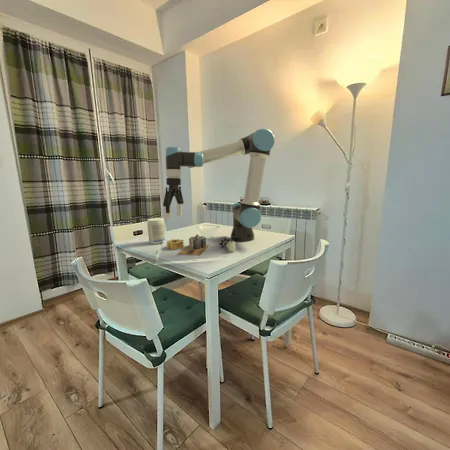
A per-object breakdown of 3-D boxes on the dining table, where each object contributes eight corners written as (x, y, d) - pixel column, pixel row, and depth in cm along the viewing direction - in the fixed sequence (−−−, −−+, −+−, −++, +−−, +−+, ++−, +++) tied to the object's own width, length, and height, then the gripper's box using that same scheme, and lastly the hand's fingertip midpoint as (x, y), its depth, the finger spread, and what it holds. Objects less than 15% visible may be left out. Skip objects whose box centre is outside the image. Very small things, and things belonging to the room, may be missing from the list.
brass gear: (186, 247, 144) (186, 239, 143) (180, 252, 135) (179, 243, 134) (171, 247, 145) (170, 238, 144) (164, 251, 137) (163, 243, 136)
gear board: (210, 247, 144) (210, 232, 142) (199, 258, 125) (199, 241, 123) (190, 246, 146) (190, 232, 145) (177, 257, 127) (176, 241, 126)
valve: (239, 254, 130) (230, 248, 141) (239, 242, 129) (230, 237, 140) (227, 256, 128) (219, 249, 139) (227, 243, 126) (219, 238, 137)
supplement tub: (167, 241, 159) (166, 218, 157) (159, 245, 151) (158, 220, 148) (154, 240, 162) (152, 217, 159) (145, 244, 153) (143, 220, 150)
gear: (205, 243, 145) (204, 235, 144) (206, 248, 136) (206, 239, 135) (189, 245, 144) (188, 236, 143) (189, 249, 135) (189, 240, 134)
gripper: (176, 177, 146) (177, 213, 150) (155, 177, 123) (156, 220, 127) (189, 177, 145) (189, 214, 149) (169, 177, 121) (170, 221, 125)
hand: (174, 217), depth 138 cm, fingers open, 13 cm apart
